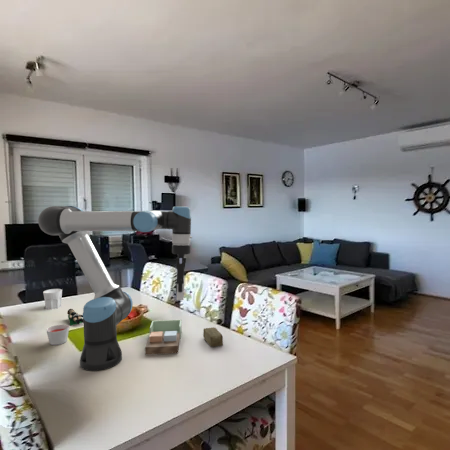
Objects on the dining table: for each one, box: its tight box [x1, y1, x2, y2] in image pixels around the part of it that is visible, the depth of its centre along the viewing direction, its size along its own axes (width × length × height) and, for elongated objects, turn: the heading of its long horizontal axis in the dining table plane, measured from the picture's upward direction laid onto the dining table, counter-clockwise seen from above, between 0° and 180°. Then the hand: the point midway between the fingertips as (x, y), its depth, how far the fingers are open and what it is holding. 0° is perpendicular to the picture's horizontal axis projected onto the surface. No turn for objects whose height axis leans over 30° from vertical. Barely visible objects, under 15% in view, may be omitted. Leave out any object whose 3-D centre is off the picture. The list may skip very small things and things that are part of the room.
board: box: [144, 333, 181, 355], centre depth 138 cm, size 13×14×3 cm
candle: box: [45, 324, 70, 346], centre depth 145 cm, size 9×9×6 cm
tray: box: [149, 319, 183, 340], centre depth 150 cm, size 14×9×6 cm, turn 95°
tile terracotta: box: [148, 331, 163, 342], centre depth 139 cm, size 5×5×2 cm
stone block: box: [202, 326, 224, 348], centre depth 143 cm, size 6×12×5 cm, turn 22°
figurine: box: [67, 308, 83, 327], centre depth 170 cm, size 8×6×15 cm
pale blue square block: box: [164, 331, 177, 341], centre depth 139 cm, size 5×5×2 cm
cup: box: [42, 288, 63, 310], centre depth 196 cm, size 10×10×10 cm
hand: (180, 295), depth 135 cm, fingers open, 13 cm apart
